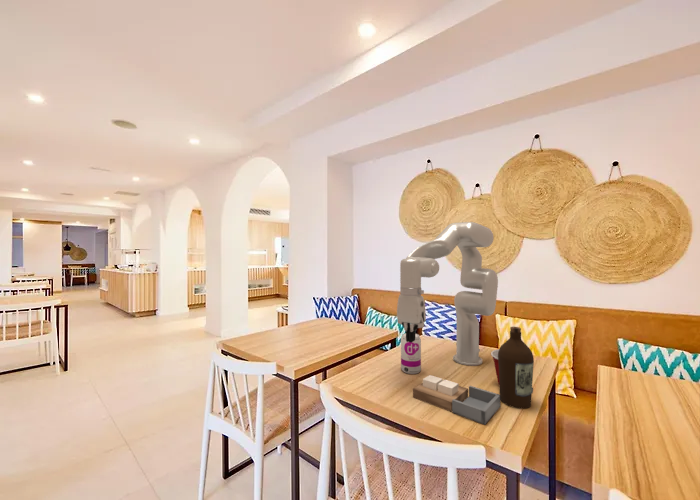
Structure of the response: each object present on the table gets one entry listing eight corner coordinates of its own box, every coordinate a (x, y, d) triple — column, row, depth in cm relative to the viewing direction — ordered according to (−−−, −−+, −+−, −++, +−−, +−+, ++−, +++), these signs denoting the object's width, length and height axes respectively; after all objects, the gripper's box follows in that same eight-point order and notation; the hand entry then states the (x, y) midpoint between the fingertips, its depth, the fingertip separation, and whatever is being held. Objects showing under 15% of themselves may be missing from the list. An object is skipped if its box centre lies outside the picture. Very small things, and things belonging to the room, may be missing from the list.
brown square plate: (431, 385, 119) (431, 377, 119) (468, 397, 110) (468, 388, 110) (413, 397, 110) (413, 388, 110) (451, 411, 100) (451, 402, 100)
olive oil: (490, 396, 110) (491, 324, 110) (515, 392, 113) (516, 322, 113) (514, 411, 100) (514, 333, 99) (541, 407, 103) (541, 330, 102)
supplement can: (421, 375, 128) (421, 338, 128) (400, 373, 130) (400, 337, 129) (420, 367, 136) (420, 333, 136) (401, 366, 138) (401, 332, 137)
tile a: (429, 381, 115) (429, 374, 115) (442, 385, 112) (442, 378, 112) (422, 386, 112) (422, 379, 111) (435, 390, 108) (435, 383, 108)
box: (470, 397, 110) (470, 385, 110) (500, 406, 103) (500, 394, 103) (452, 412, 99) (452, 400, 99) (484, 425, 93) (484, 411, 93)
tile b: (444, 386, 111) (444, 379, 111) (458, 390, 108) (458, 383, 108) (437, 391, 108) (437, 384, 108) (451, 396, 104) (451, 388, 104)
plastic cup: (486, 385, 118) (486, 354, 118) (496, 377, 126) (496, 347, 126) (518, 395, 111) (518, 361, 111) (526, 385, 119) (526, 353, 119)
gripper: (434, 292, 115) (434, 343, 115) (399, 289, 125) (399, 335, 125) (423, 295, 109) (423, 348, 110) (388, 291, 120) (388, 339, 120)
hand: (410, 341), depth 118 cm, fingers closed
